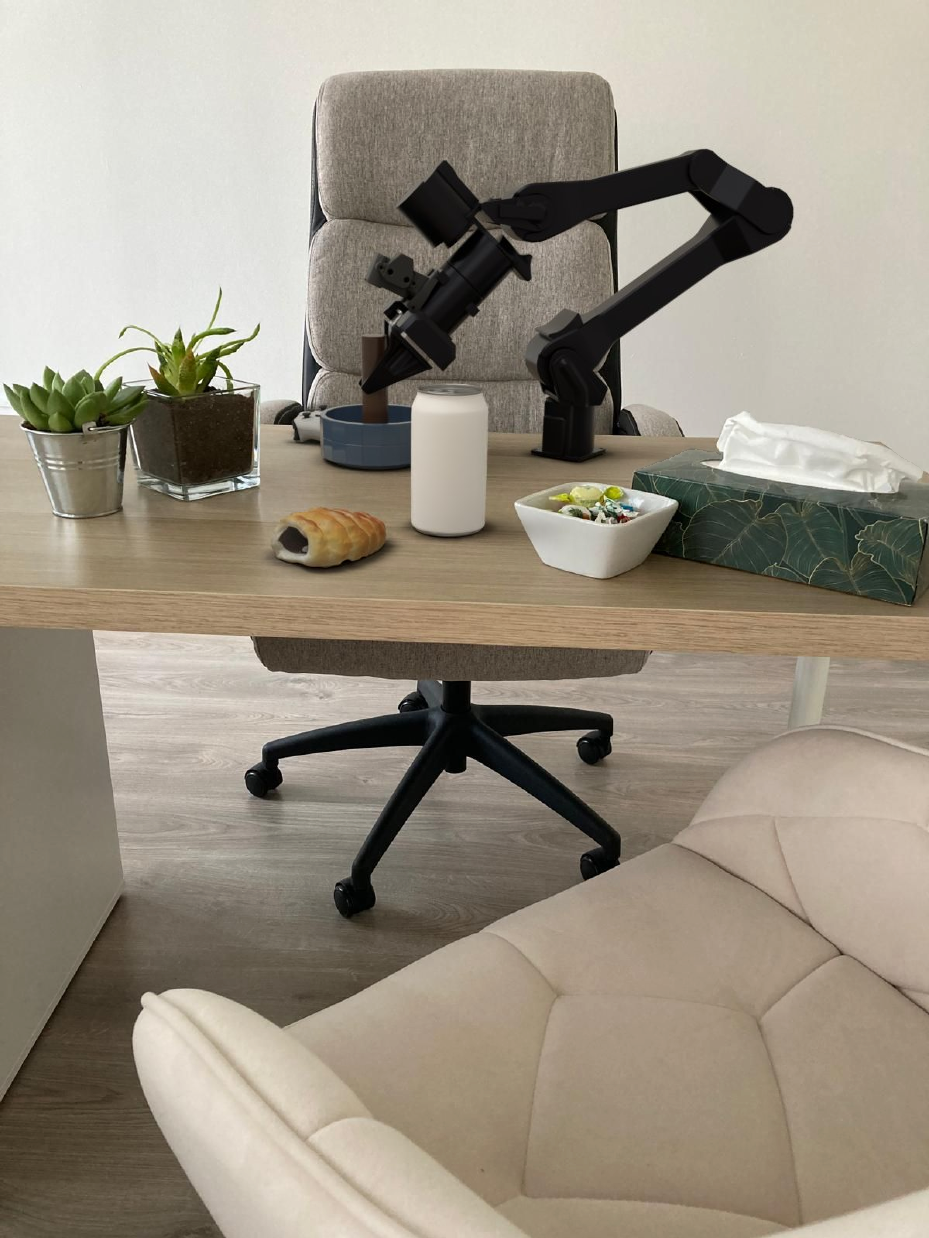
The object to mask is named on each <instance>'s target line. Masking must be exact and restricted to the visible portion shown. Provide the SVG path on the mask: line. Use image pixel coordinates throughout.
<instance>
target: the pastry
mask: <svg viewBox="0 0 929 1238" xmlns="http://www.w3.org/2000/svg"><path fill="white" fill-rule="evenodd" d="M278 521H279V522H278V524H277V526H276V527H275V528H274V530H273V534H272V536H271V537H270V547H271V549H272V550H273V552H274V553H275V556H276V558H277V559H278V560H282V561H285V562H287V563H299V564H301V565H304V566H306V567H314V568H316V567H320V568H324V569H325V568H330V567H333V566H339V565H341V564H342V562H344V561H346V560H349V561H351V562H354V561H357V560H360V559H361V558H362V557H366V558H367V557H368V556H369V555H372V554H374V553H377V552H378V551H379V550H380V549H381V548H382V547H383V545H384V544H385V543H386V540H387V529H386V528H387V527H386V524H385V523H384V521H382V520H380V519H378V518H376V517H375V516H372V515H371V514H370V513H368V512H364V511H361V510H359V511H358V510H356V511H353V512H352V511H350V510H349V509H346V508H345V509H340V508H330V509H329V508H327V507H321V506H320V507H316V508H310V509H308V510H307V511H297V512H293V513H290V514H289V515H288V516H284V517H281V518H280V519H279V520H278Z"/></svg>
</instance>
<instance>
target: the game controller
mask: <svg viewBox="0 0 929 1238" xmlns="http://www.w3.org/2000/svg"><path fill="white" fill-rule="evenodd" d="M326 409H328V405H327V404H320V405H319V406H318V408H317V409H311V410H310V409H306V410H304V411H301V412H299V413H298V414H297V415H296V417H295V418H294V419H292V420H291V426H292V429H293V431H294V433H293V435H294V436H293V441H296V442H300V443H304V442H306V441H308V440H316V441H318V442H320V413H321V412H322V411H324V410H326Z"/></svg>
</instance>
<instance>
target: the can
mask: <svg viewBox="0 0 929 1238" xmlns="http://www.w3.org/2000/svg"><path fill="white" fill-rule="evenodd" d="M416 391H417V393H416V396H415V397H414V400H413V403H412V405H411V406H412V413H411V466H410V498H411V499H410V513H411V515H410V516H411V518H410V519H411V525H412V526H413V527H414V529H415V531H417V532H419V533H421V534H424V535H428V536H433V537H439V538H440V537H441V538H454V537H455V538H456V537H457V538H458V537H466V536H471V535H475V534H477V533H479V532H480V531H481V530H482V529H483V528H484V526H485V524H486V504H487V475H488V474H487V473H488V471H487V470H488V442H489V441H488V440H489V438H488V436H489V407H488V404H487V402H486V399H485V397H484V391H485V389H484V387H482V386H480V385H479V386H478V385H473V384H468V383H467V384H465V383H449V382H448V383H428V384H422V385H419V386H417V387H416Z"/></svg>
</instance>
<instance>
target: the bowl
mask: <svg viewBox="0 0 929 1238" xmlns="http://www.w3.org/2000/svg"><path fill="white" fill-rule="evenodd" d="M411 413H412V405H406V404H397V403H395V404H394V403H388V420H389V423H384V424H370V423H363V408H362V403H357V404H355V403H354V404H346V405H345V404H344V405H338V406H333V407H328V408H326V410H324V411H322V412H321V413H320V441H319V442H320V443H319V444H320V455H321V456H322V458H324V459H325V460H328V461H330V462H333V463H334V464H337V465H339V466H341V467H346V468H353V469H361V470H394V469H403V468H407V467H411Z"/></svg>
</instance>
